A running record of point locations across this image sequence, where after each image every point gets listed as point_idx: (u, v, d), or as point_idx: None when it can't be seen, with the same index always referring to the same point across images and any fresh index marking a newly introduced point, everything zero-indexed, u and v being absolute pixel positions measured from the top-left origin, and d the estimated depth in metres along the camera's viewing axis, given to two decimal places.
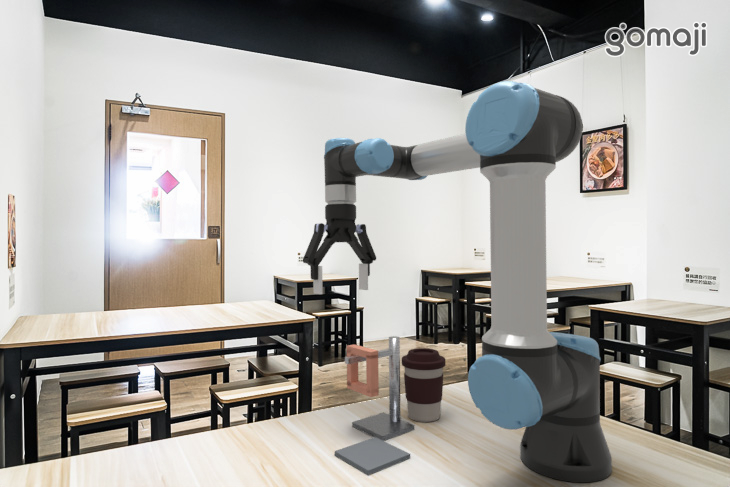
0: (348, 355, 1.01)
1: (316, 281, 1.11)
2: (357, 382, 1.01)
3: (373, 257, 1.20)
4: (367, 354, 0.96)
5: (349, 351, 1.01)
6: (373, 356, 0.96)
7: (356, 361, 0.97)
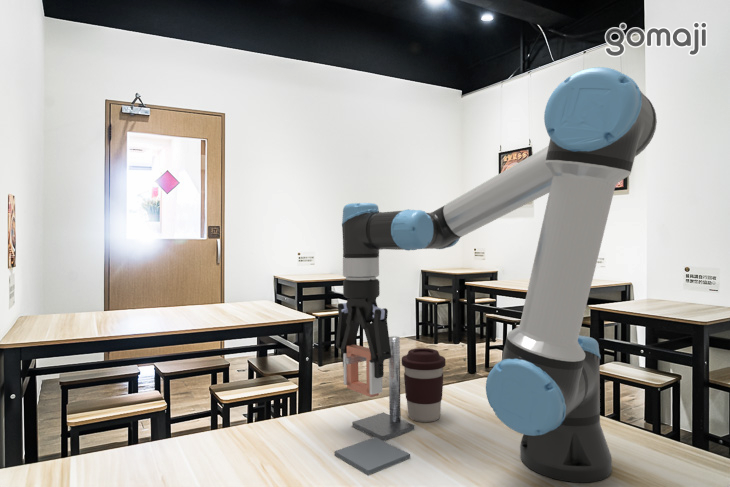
0: (348, 355, 1.01)
1: None
2: (357, 382, 1.01)
3: (378, 355, 0.93)
4: (367, 354, 0.96)
5: (349, 351, 1.01)
6: None
7: (356, 361, 0.97)
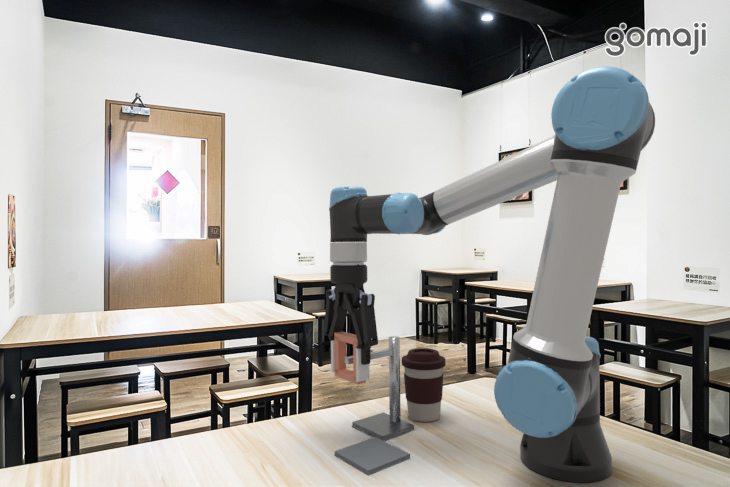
0: (336, 342, 0.99)
1: None
2: (345, 369, 0.99)
3: (365, 341, 0.91)
4: (354, 340, 0.94)
5: (337, 338, 0.99)
6: None
7: None
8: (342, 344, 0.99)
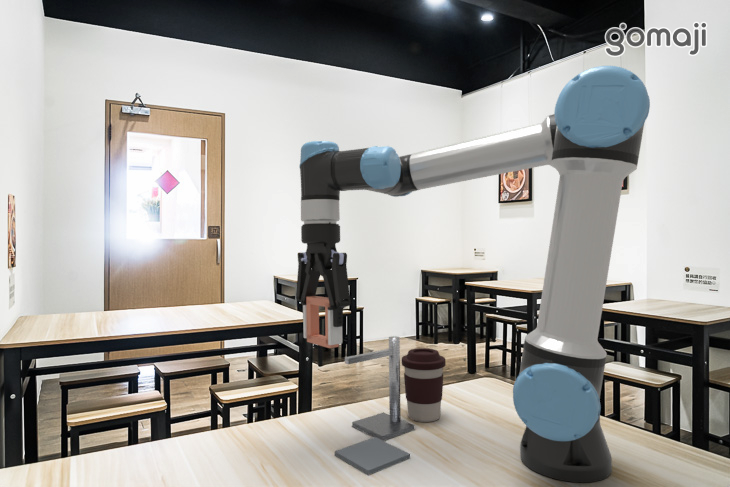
0: (308, 306, 0.95)
1: None
2: (317, 335, 0.94)
3: (336, 302, 0.87)
4: (326, 302, 0.90)
5: (309, 302, 0.94)
6: None
7: (356, 361, 0.97)
8: (315, 308, 0.95)
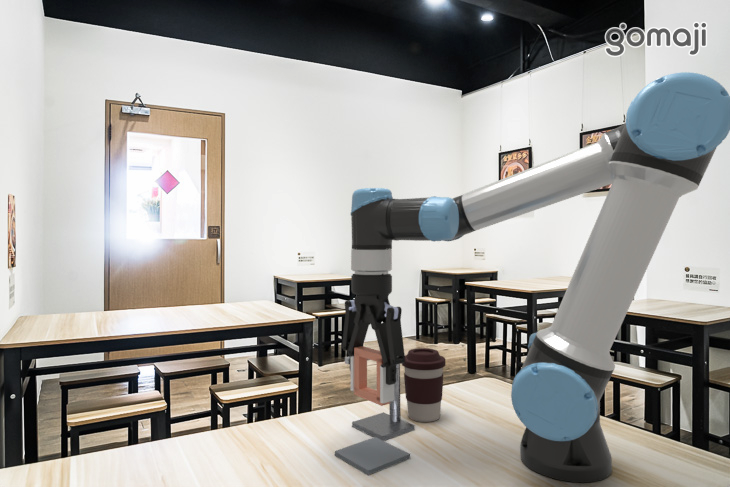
0: (356, 358, 0.91)
1: None
2: (366, 388, 0.90)
3: (391, 359, 0.82)
4: (378, 357, 0.86)
5: (357, 354, 0.90)
6: None
7: None
8: (363, 360, 0.91)
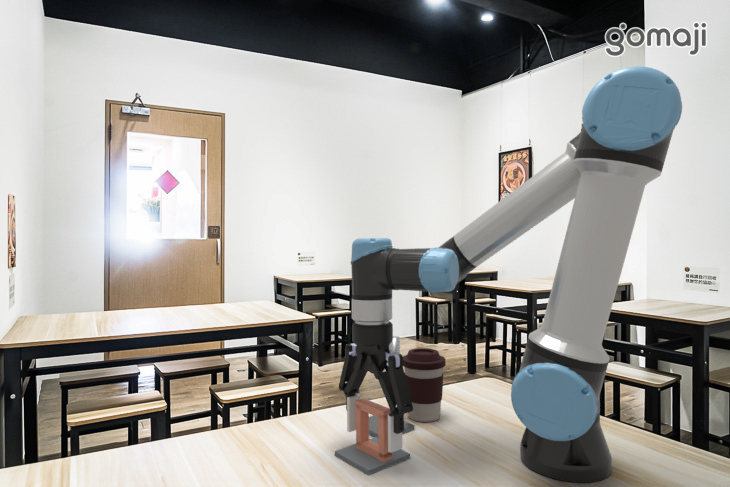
0: (357, 411, 0.90)
1: None
2: (367, 442, 0.90)
3: (398, 409, 0.81)
4: (379, 413, 0.85)
5: (359, 407, 0.90)
6: (386, 416, 0.85)
7: None
8: (364, 413, 0.91)
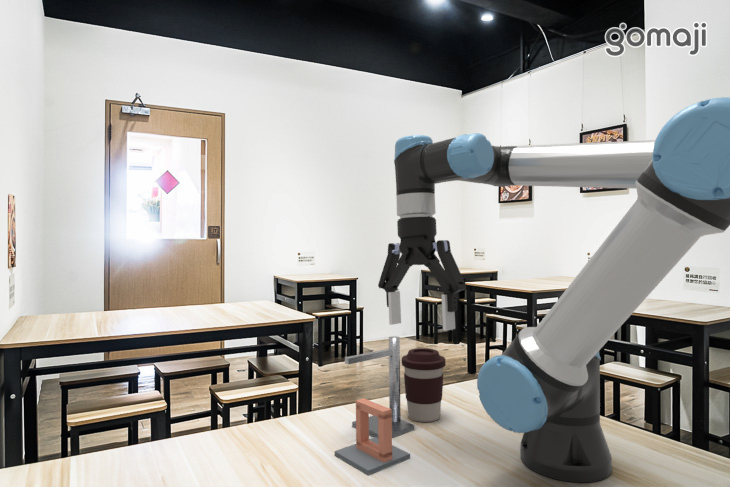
0: (357, 411, 0.90)
1: None
2: (367, 442, 0.90)
3: (453, 286, 0.85)
4: (379, 413, 0.85)
5: (359, 407, 0.90)
6: (386, 416, 0.85)
7: (356, 361, 0.97)
8: (364, 413, 0.91)
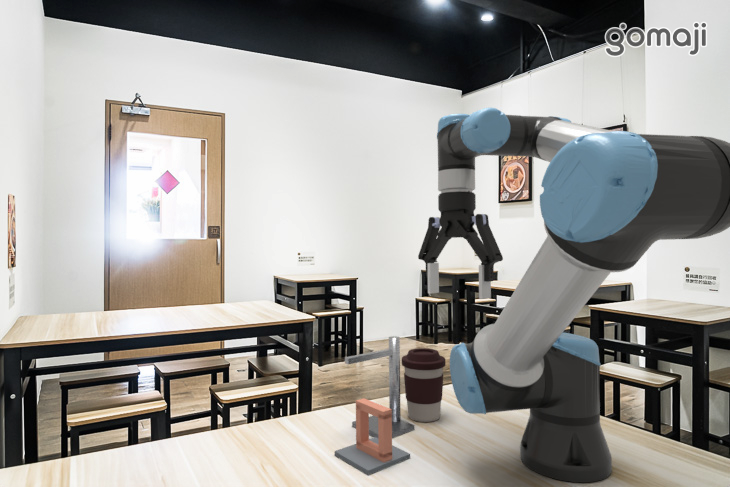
0: (357, 411, 0.90)
1: None
2: (367, 442, 0.90)
3: (490, 257, 0.90)
4: (379, 413, 0.85)
5: (359, 407, 0.90)
6: (386, 416, 0.85)
7: (356, 361, 0.97)
8: (364, 413, 0.91)
